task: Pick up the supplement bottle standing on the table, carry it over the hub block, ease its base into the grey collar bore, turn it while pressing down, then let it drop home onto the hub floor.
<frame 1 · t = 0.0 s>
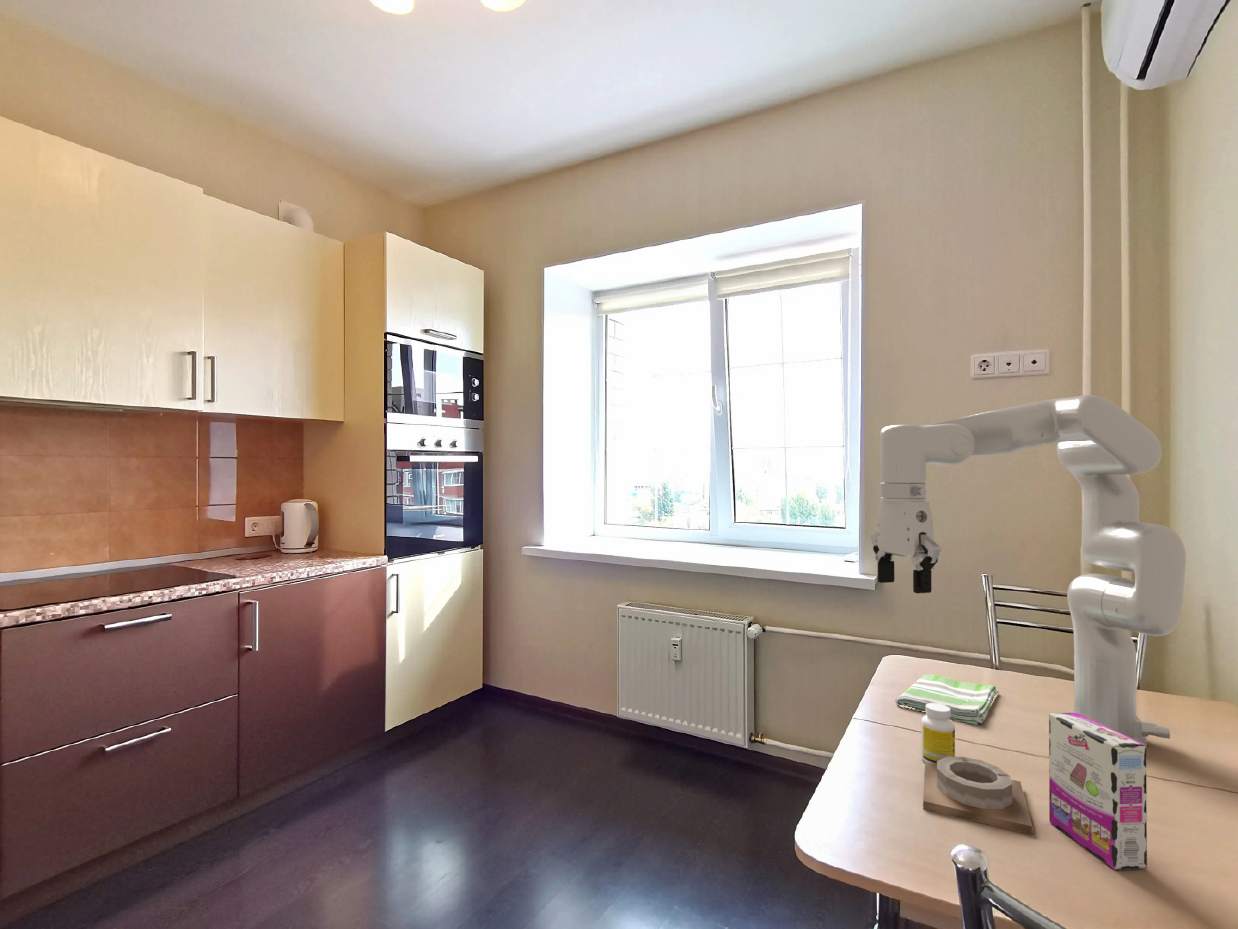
hand: (903, 587, 109), 31 cm above the table, tool pointing down, fingers open, 9 cm apart
supplement bottle: (937, 762, 108), on the table
candy bar box: (1095, 846, 84), on the table
hub block: (973, 798, 96), on the table
dish towel: (948, 703, 137), on the table
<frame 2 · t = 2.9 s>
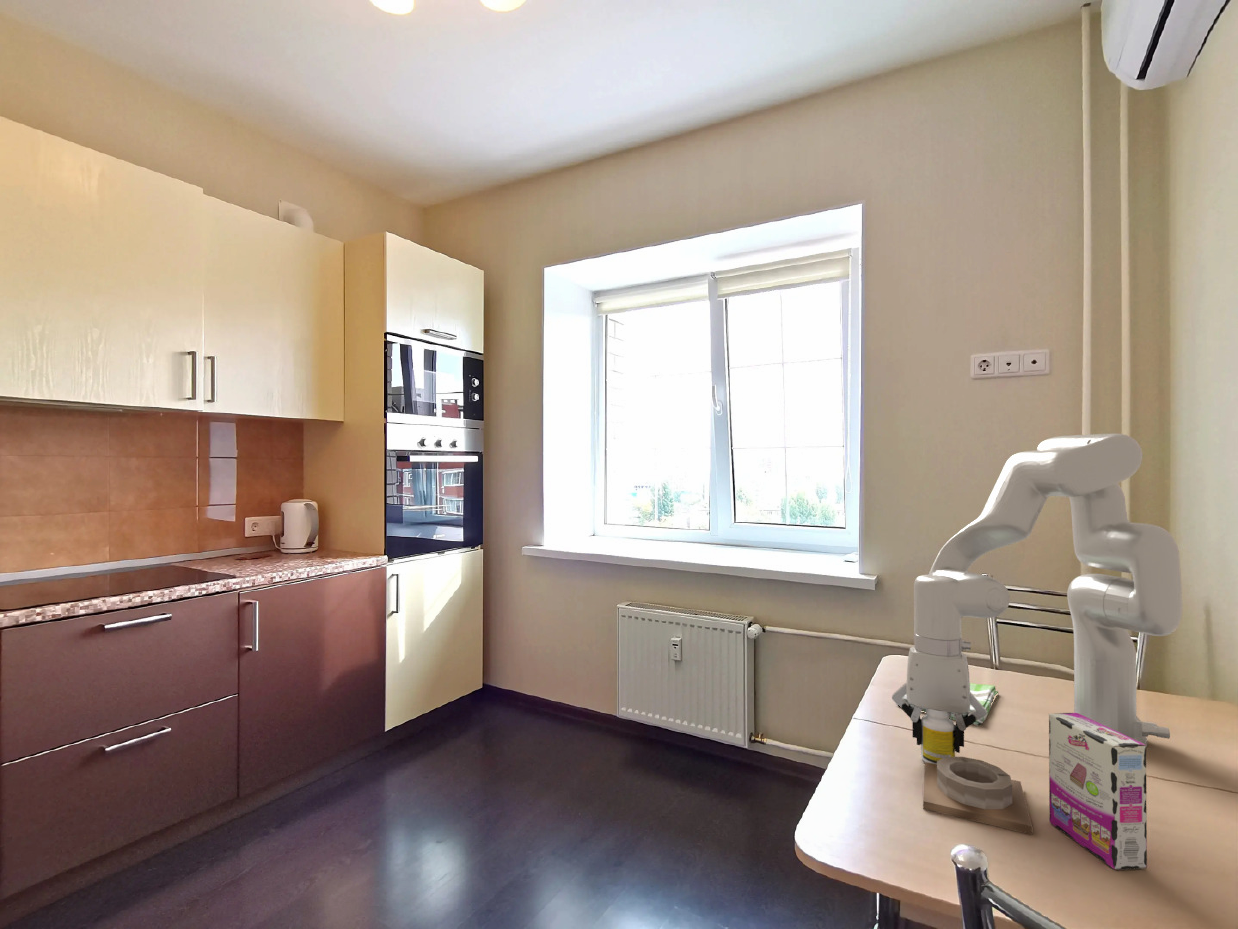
hand: (937, 744, 108), 3 cm above the table, tool pointing down, fingers closed on supplement bottle, 5 cm apart
supplement bottle: (937, 762, 108), on the table, touching gripper
everything else where it was.
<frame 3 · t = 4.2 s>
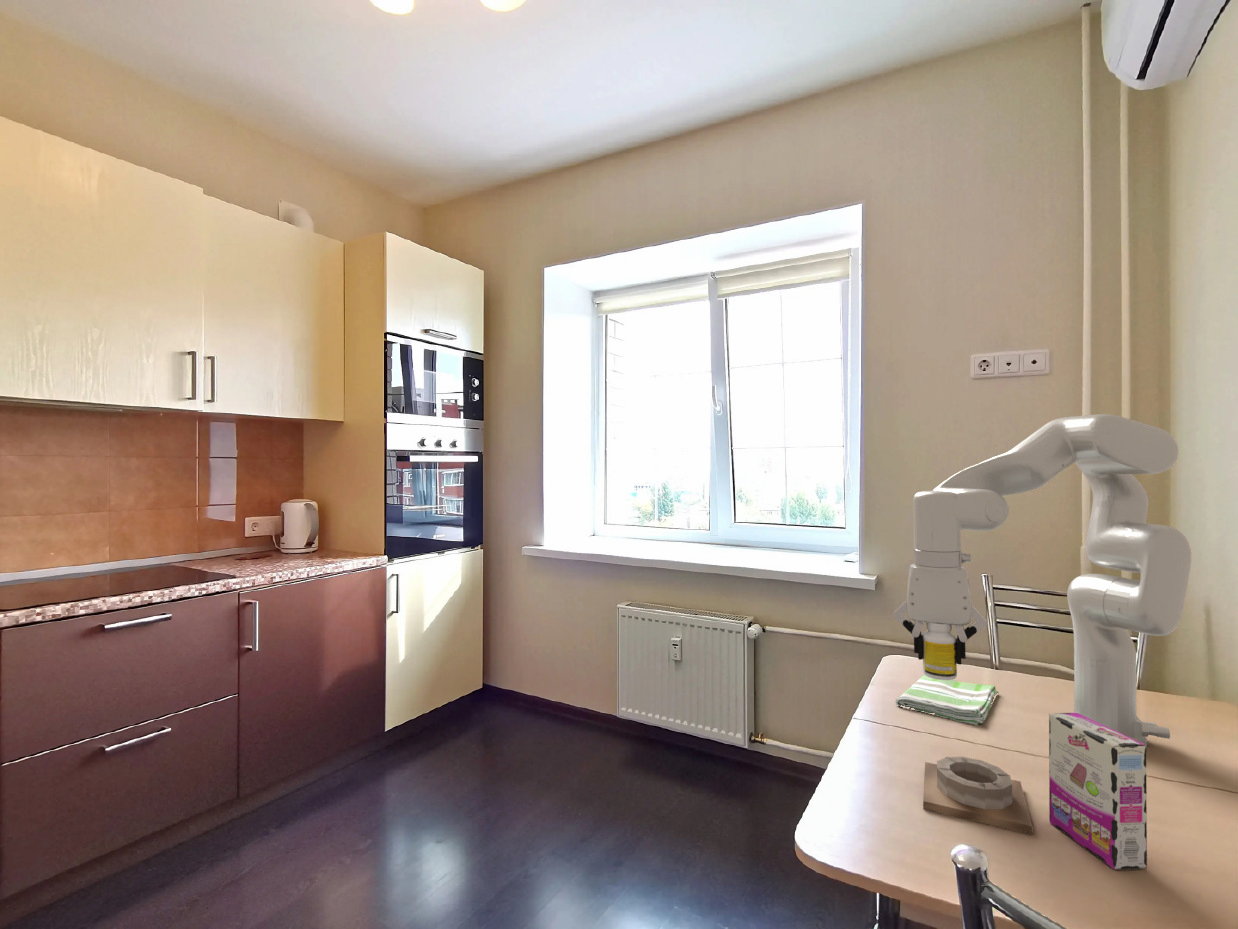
hand: (939, 658, 108), 18 cm above the table, tool pointing down, fingers closed on supplement bottle, 5 cm apart
supplement bottle: (939, 677, 108), point 15 cm above the table, touching gripper
everything else where it was.
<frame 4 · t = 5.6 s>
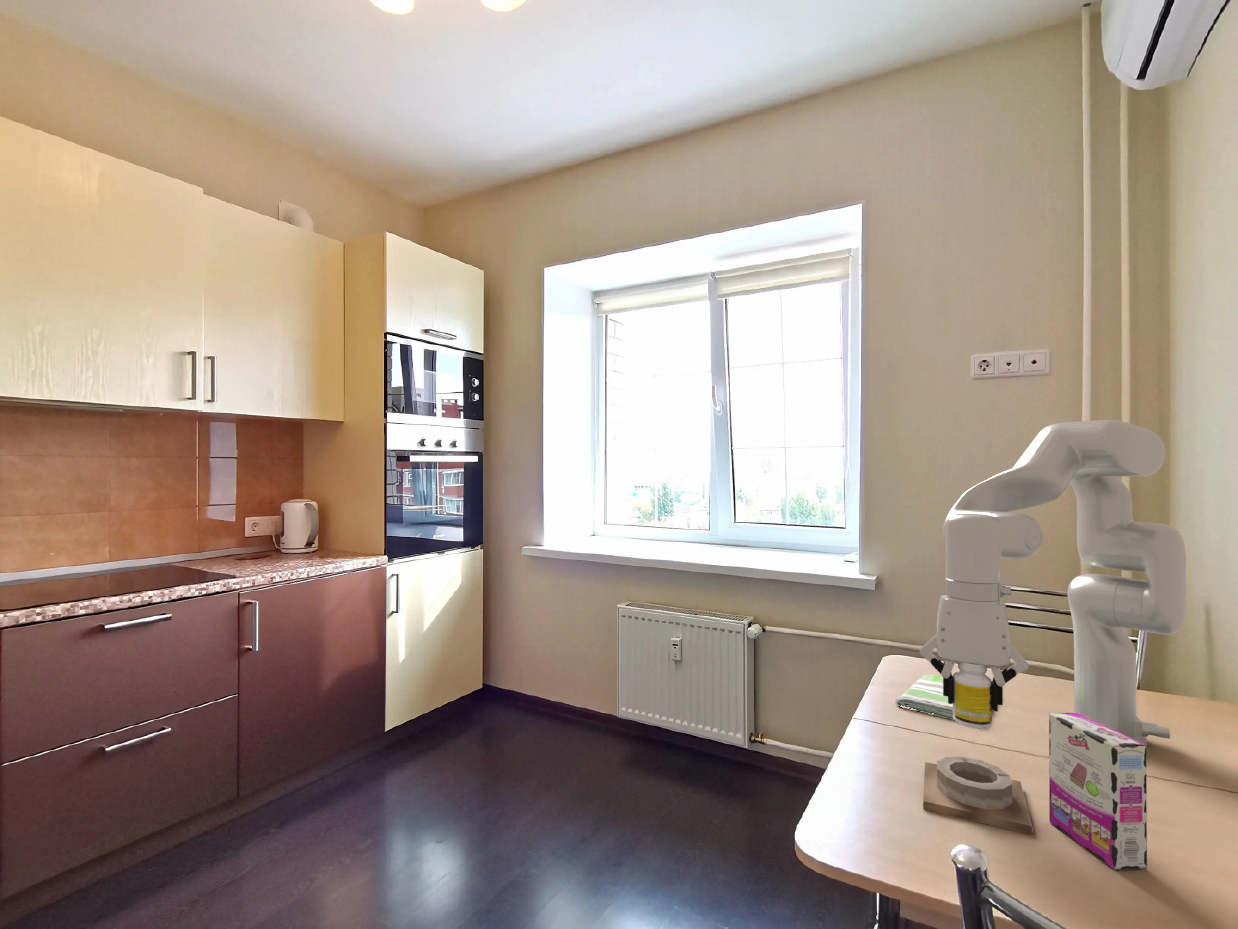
hand: (972, 703, 96), 15 cm above the table, tool pointing down, fingers closed on supplement bottle, 5 cm apart
supplement bottle: (972, 723, 96), point 12 cm above the table, touching gripper
everything else where it was.
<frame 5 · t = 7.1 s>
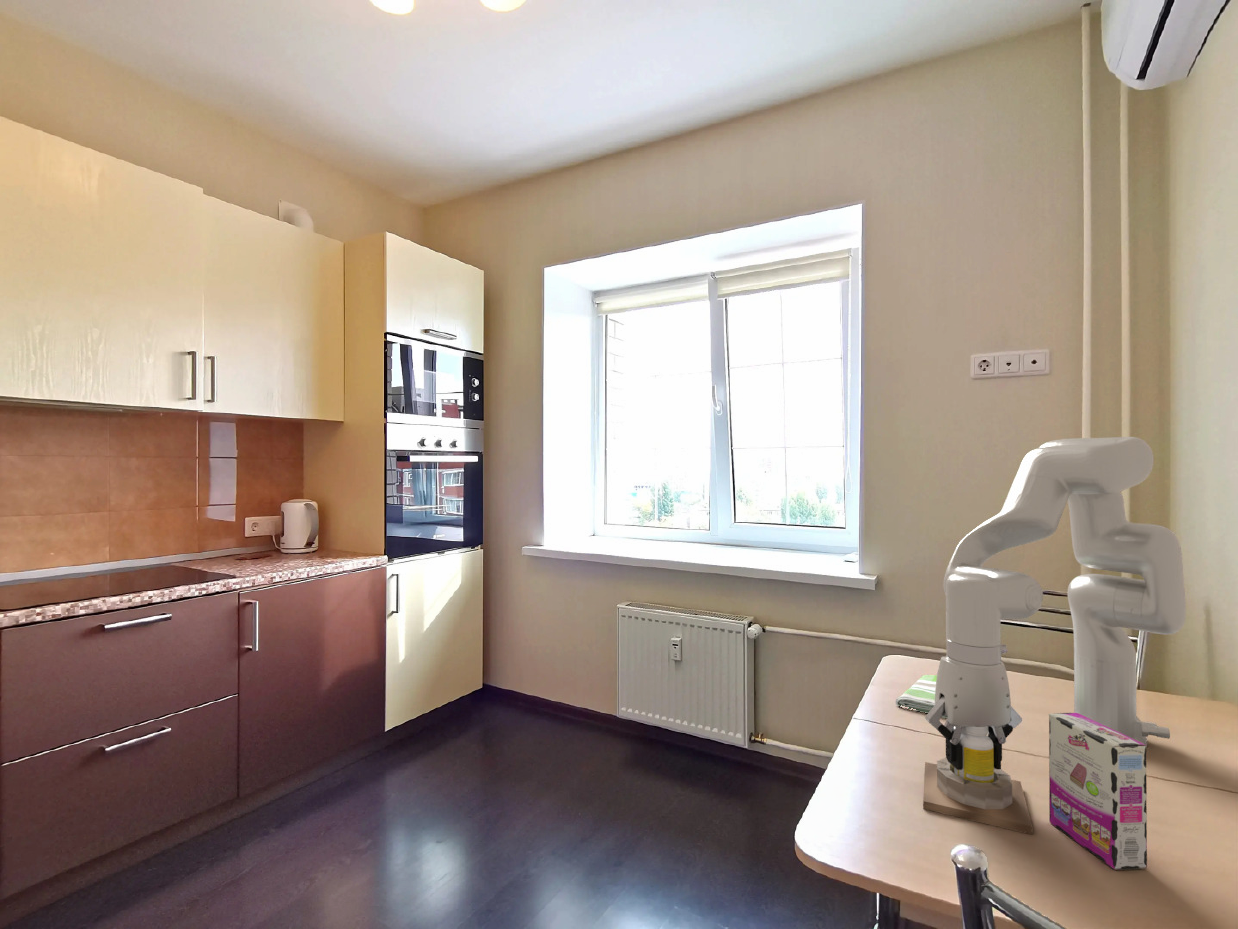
hand: (973, 764, 96), 5 cm above the table, tool pointing down, fingers closed on supplement bottle, 5 cm apart
supplement bottle: (973, 784, 96), point 2 cm above the table, touching gripper
everything else where it was.
when the fingers open (5 cm above the table, at t = 8.4 s): supplement bottle stays where it is, resting on hub block.
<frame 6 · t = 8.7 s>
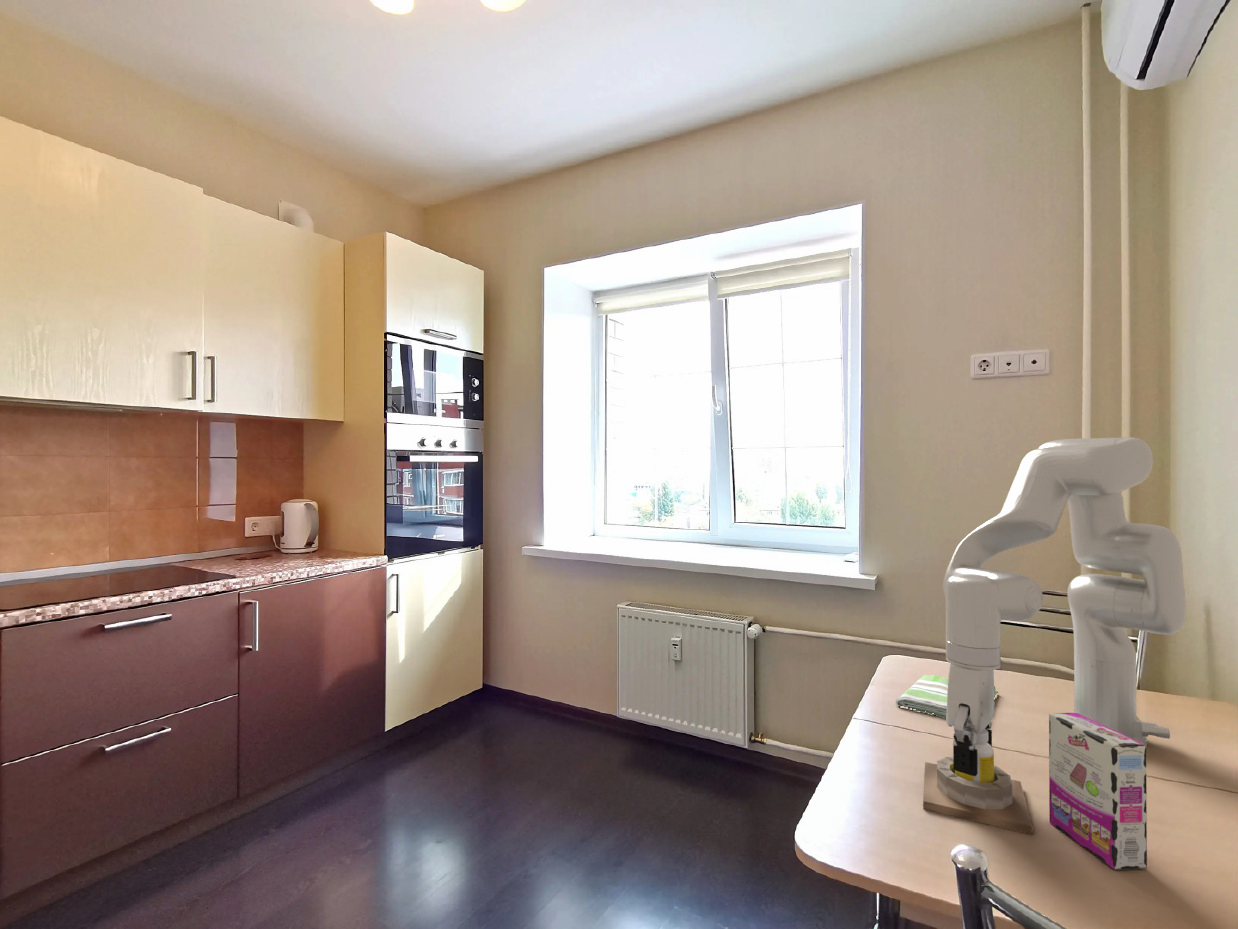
hand: (973, 761, 96), 6 cm above the table, tool pointing down, fingers open, 8 cm apart
supplement bottle: (974, 792, 96), point 1 cm above the table, touching hub block
everything else where it was.
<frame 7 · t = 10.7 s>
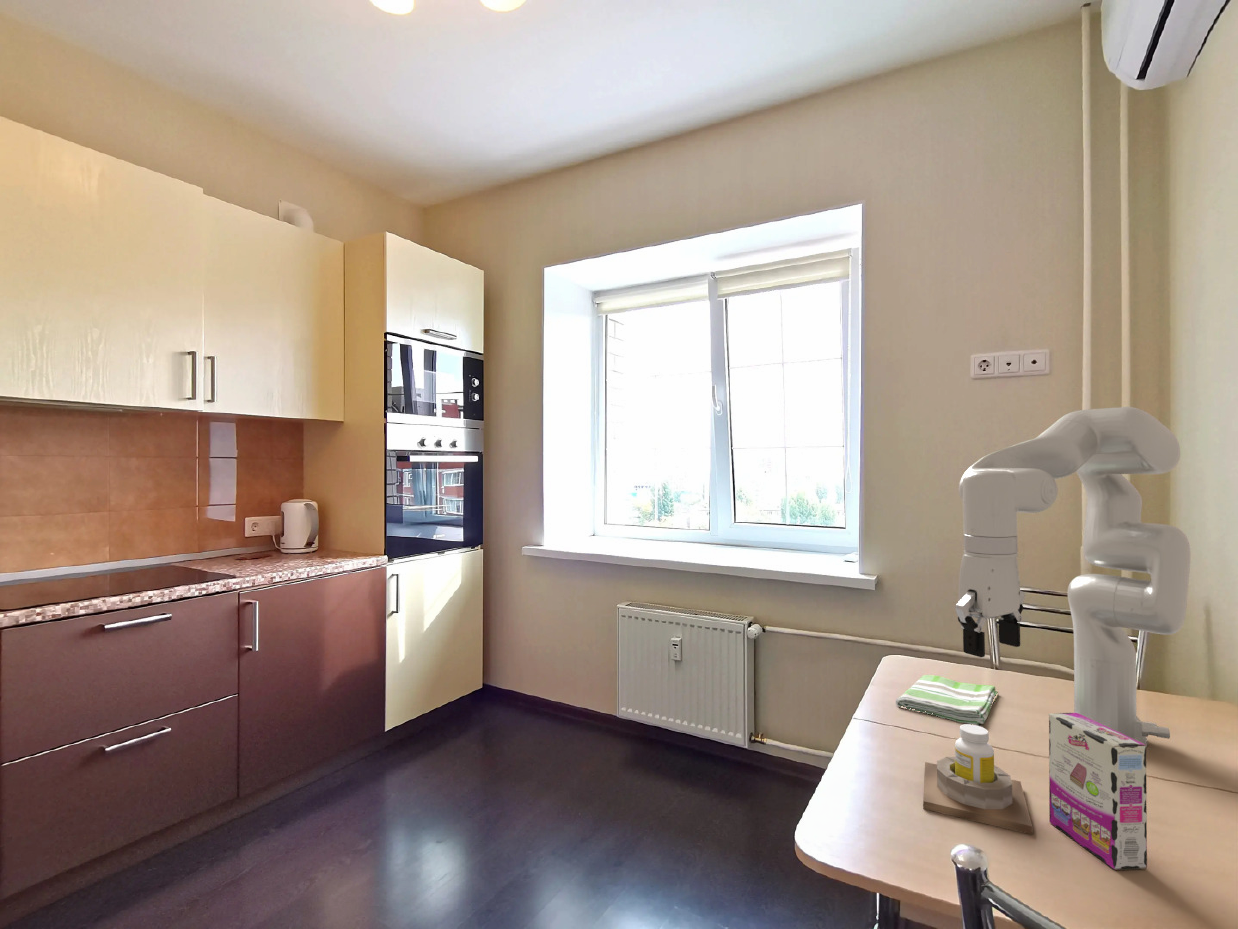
hand: (992, 649, 99), 23 cm above the table, tool pointing down, fingers open, 9 cm apart
nothing on the table moved.
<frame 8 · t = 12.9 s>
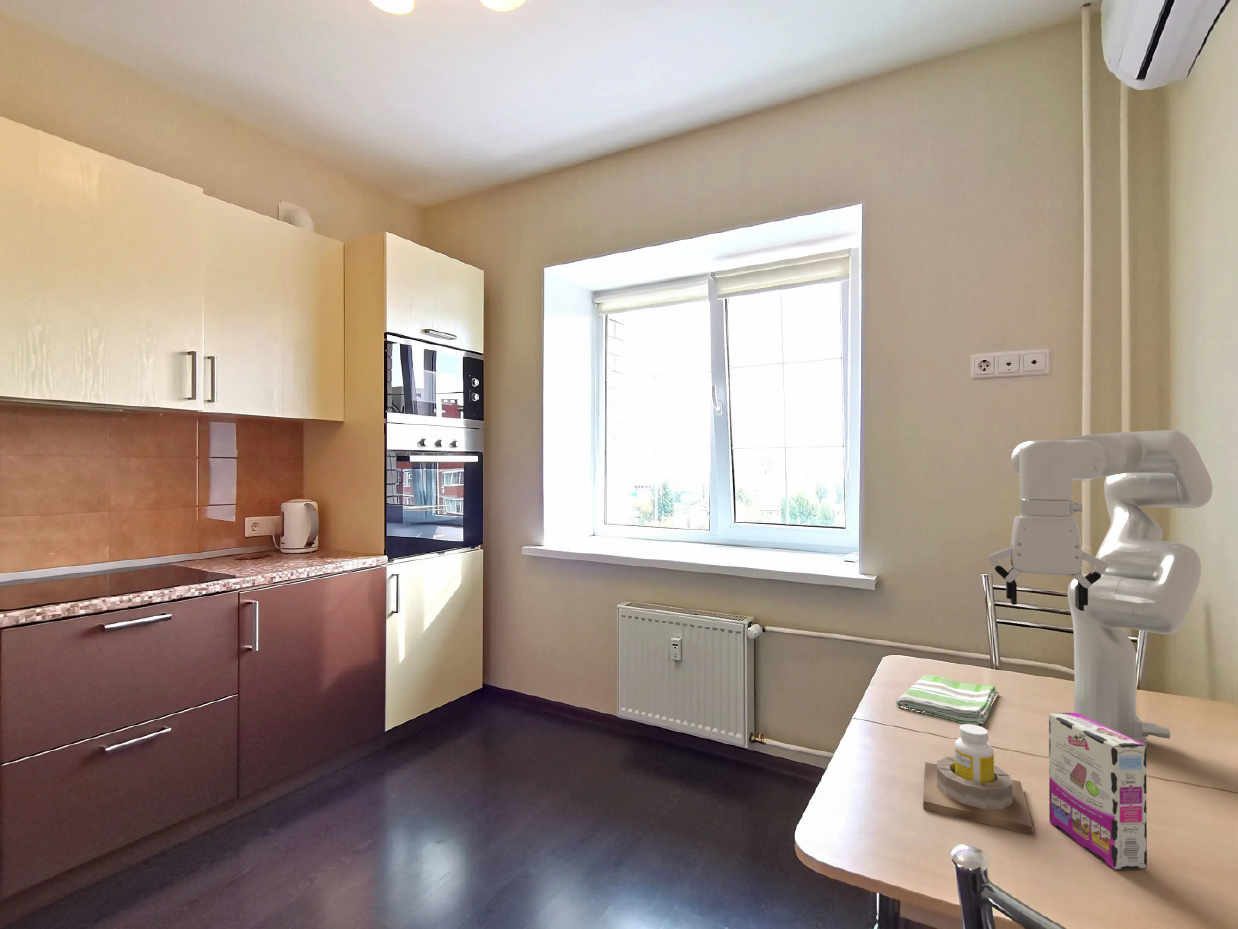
hand: (1045, 606, 106), 28 cm above the table, tool pointing down, fingers open, 9 cm apart
nothing on the table moved.
at the end: supplement bottle 0.2 cm from the hub block (horizontally); supplement bottle tilted 0°; supplement bottle touching hub block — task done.
